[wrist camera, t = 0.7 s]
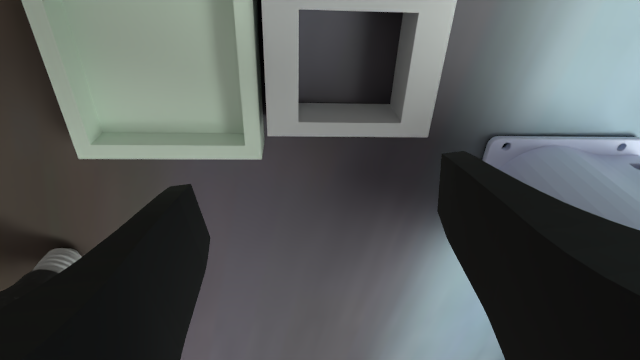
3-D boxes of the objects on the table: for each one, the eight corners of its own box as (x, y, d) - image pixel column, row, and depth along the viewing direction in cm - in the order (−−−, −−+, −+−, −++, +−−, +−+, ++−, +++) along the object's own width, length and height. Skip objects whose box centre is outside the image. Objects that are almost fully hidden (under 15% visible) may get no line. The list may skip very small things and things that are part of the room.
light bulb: (35, 278, 26) (-88, 440, 18) (15, 215, 23) (-144, 374, 15) (120, 285, 27) (41, 443, 19) (112, 225, 24) (13, 381, 16)
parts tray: (254, -48, 16) (250, -46, 15) (264, 141, 21) (261, 159, 20) (32, -57, 16) (0, -56, 14) (96, 140, 21) (78, 158, 19)
